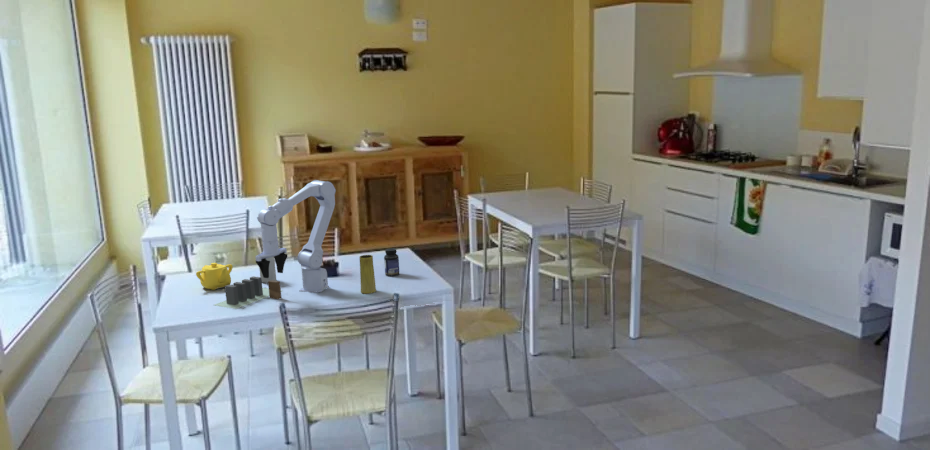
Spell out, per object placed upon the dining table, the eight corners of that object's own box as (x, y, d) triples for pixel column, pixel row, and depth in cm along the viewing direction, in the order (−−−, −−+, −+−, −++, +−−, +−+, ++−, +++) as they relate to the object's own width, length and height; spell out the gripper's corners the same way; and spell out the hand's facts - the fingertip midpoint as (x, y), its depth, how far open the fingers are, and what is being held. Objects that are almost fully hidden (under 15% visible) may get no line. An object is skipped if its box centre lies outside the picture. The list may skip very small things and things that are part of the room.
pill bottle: (402, 273, 303) (401, 248, 301) (393, 277, 298) (392, 251, 296) (391, 272, 307) (389, 247, 304) (382, 275, 301) (380, 250, 299)
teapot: (239, 282, 300) (236, 258, 298) (228, 291, 287) (226, 266, 285) (207, 283, 300) (204, 259, 298) (195, 292, 287) (192, 267, 285)
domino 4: (254, 293, 281) (253, 276, 280) (262, 294, 279) (261, 277, 278) (251, 294, 279) (249, 277, 278) (259, 295, 277) (257, 278, 276)
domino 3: (246, 296, 277) (245, 279, 276) (255, 297, 275) (253, 280, 274) (243, 297, 276) (241, 280, 275) (251, 298, 274) (249, 281, 272)
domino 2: (238, 299, 274) (236, 281, 272) (247, 300, 272) (245, 283, 270) (235, 300, 272) (233, 283, 271) (243, 302, 270) (241, 284, 269)
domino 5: (273, 297, 276) (271, 280, 275) (281, 298, 274) (279, 281, 272) (269, 298, 274) (268, 281, 273) (278, 299, 272) (276, 282, 271)
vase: (363, 294, 275) (361, 259, 272) (358, 291, 280) (356, 255, 277) (378, 292, 278) (376, 256, 275) (373, 288, 283) (370, 253, 280)
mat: (261, 288, 289) (261, 287, 289) (283, 291, 283) (283, 290, 283) (213, 305, 268) (213, 305, 268) (236, 309, 262) (235, 308, 262)
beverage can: (272, 284, 294) (269, 256, 292) (258, 283, 296) (255, 256, 293) (279, 280, 301) (276, 252, 298) (265, 279, 302) (262, 252, 300)
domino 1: (230, 302, 270) (228, 284, 269) (238, 303, 268) (236, 286, 267) (226, 303, 269) (224, 286, 267) (235, 305, 267) (233, 287, 265)
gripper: (275, 236, 278) (278, 269, 280) (248, 243, 265) (251, 278, 268) (289, 237, 274) (292, 271, 277) (262, 245, 262) (265, 280, 265)
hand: (273, 275), depth 272 cm, fingers open, 7 cm apart
